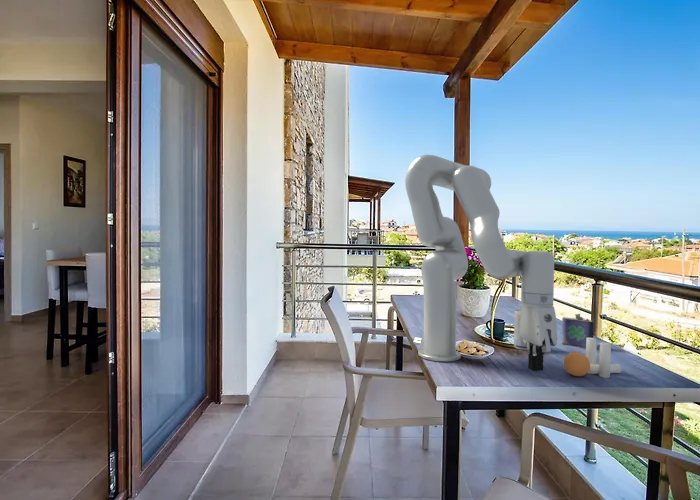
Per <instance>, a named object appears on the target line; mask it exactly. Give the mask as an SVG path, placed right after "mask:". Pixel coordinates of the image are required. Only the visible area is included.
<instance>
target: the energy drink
mask: <svg viewBox="0 0 700 500" xmlns="http://www.w3.org/2000/svg"><path fill="white" fill-rule="evenodd" d="M520 312H521V309H516V310H515V311H514V316H513V317H514V323H513V326H514V327H513V347H514V348H515V349H517V350H521V351H527V345H526V344H525V343H524V342H523V338H521V336H520V331H519V325H520Z"/></svg>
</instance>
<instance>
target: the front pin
mask: <svg viewBox="0 0 700 500" xmlns="http://www.w3.org/2000/svg"><path fill="white" fill-rule="evenodd" d="M620 373H622V366H621V365H620V364H619V363H610V374H620ZM587 374H588V375H599V363H596V364H591V365H590V369H589V371H588V373H587Z"/></svg>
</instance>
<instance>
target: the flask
mask: <svg viewBox="0 0 700 500" xmlns="http://www.w3.org/2000/svg"><path fill="white" fill-rule="evenodd" d="M574 316H575V318H574V317H567V316H566V317H565V316H563V317H562V319H561V322H562V326H561V327H562V331H561V344H562V345H565V346H569V347H570V346H571V347H575V348H581V349H586V338H594V324H595V323H594V321H593V320H590V319H589V318H586V317H585V318H584V317H582V316H581V313H576V314H574Z"/></svg>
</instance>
